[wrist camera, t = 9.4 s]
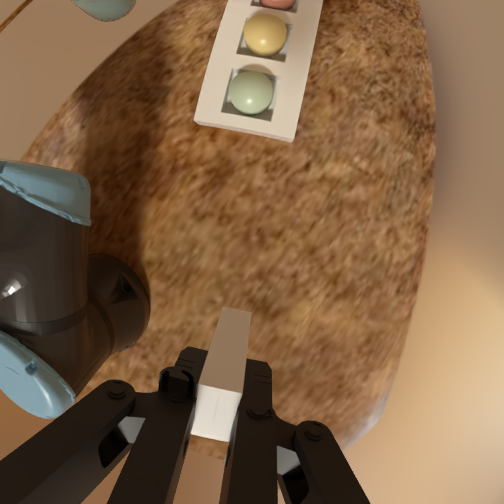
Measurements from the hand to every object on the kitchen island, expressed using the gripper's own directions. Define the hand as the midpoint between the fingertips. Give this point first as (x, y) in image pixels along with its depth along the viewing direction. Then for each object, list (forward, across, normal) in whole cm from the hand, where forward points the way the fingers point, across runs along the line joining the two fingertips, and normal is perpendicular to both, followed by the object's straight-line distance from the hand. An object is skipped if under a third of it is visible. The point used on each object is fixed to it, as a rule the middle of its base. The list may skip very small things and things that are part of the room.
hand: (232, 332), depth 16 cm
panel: (+24, -4, +26) cm, 36 cm away
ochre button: (+22, -4, +26) cm, 34 cm away
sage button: (+23, -4, +18) cm, 29 cm away
